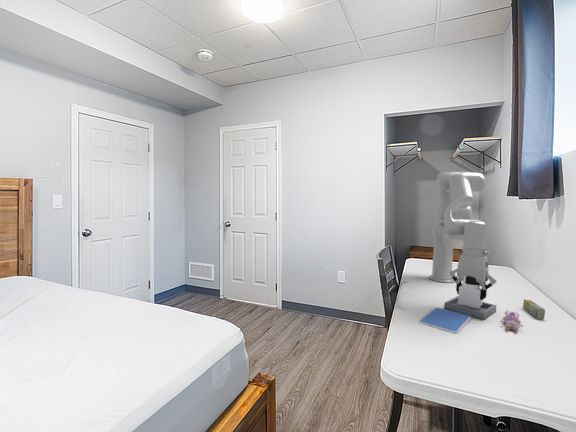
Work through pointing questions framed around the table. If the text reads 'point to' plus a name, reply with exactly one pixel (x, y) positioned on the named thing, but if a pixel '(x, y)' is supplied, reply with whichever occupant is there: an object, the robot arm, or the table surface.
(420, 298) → the table surface
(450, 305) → the tray
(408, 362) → the table surface
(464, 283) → the medicine bottle
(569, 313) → the table surface
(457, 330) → the blue flat pad
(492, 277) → the robot arm
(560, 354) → the table surface
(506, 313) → the rabbit figure
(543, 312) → the medication box
